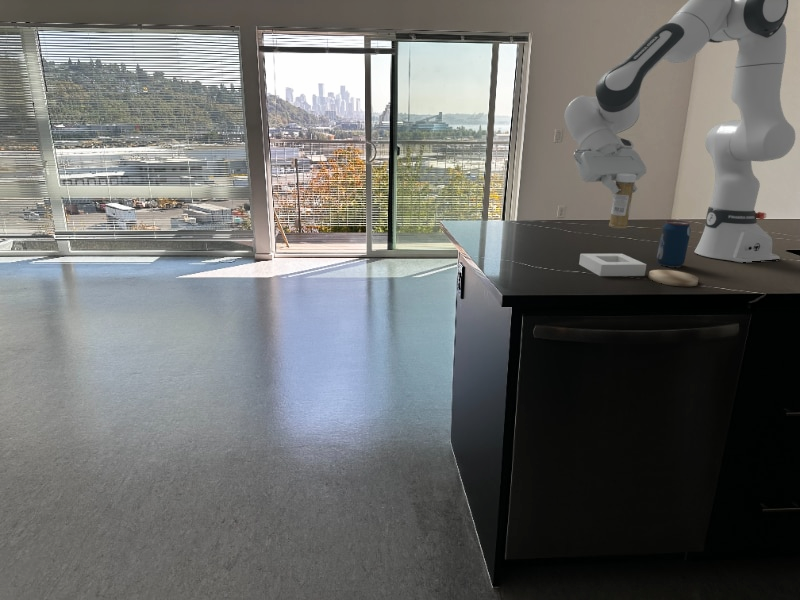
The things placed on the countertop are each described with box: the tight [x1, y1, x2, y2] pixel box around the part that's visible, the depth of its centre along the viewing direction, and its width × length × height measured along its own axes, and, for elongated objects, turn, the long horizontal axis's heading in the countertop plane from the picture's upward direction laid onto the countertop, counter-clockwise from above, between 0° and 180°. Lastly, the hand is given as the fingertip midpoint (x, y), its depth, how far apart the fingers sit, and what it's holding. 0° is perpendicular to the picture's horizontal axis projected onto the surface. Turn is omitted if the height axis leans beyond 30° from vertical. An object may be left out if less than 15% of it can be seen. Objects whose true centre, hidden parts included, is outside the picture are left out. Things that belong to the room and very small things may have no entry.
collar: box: [578, 253, 647, 277], centre depth 134 cm, size 12×12×3 cm
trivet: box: [647, 269, 699, 287], centre depth 126 cm, size 11×11×1 cm
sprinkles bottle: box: [608, 173, 637, 229], centre depth 129 cm, size 5×5×14 cm
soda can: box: [656, 220, 692, 268], centre depth 140 cm, size 7×7×12 cm
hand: (625, 191), depth 127 cm, fingers closed on sprinkles bottle, 4 cm apart
